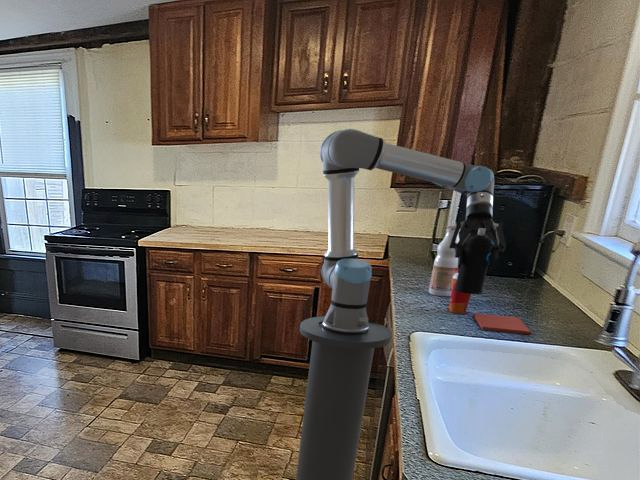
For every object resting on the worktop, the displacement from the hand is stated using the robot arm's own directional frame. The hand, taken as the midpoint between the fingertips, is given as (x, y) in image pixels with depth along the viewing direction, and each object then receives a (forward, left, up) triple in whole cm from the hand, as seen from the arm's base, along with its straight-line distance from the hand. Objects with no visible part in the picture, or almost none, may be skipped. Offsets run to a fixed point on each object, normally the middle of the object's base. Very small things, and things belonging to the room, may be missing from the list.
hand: (475, 266), depth 166 cm
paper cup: (+2, +28, -22) cm, 36 cm away
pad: (+14, +15, -22) cm, 30 cm away
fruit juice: (-1, +57, -22) cm, 61 cm away
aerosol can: (0, +3, -9) cm, 9 cm away
